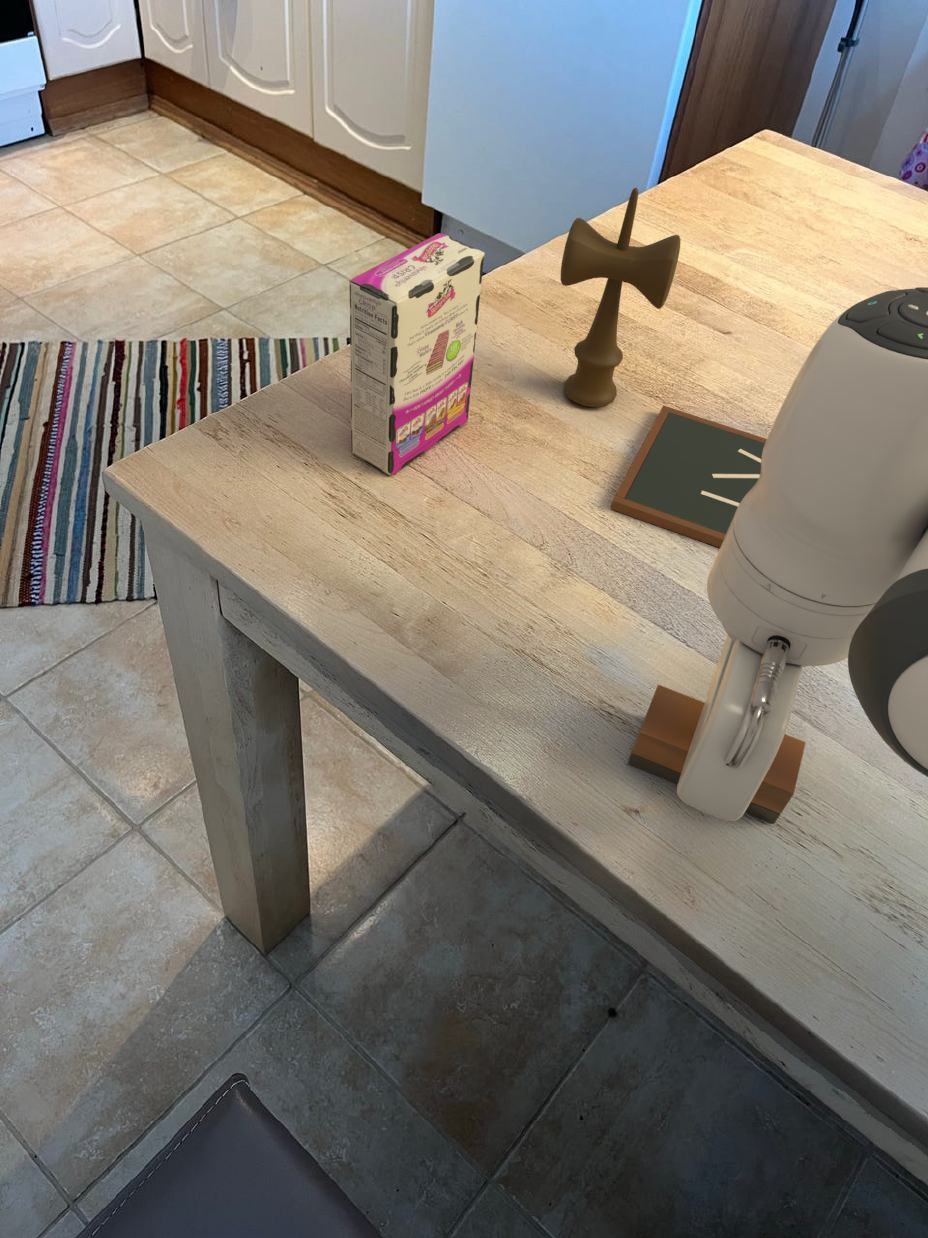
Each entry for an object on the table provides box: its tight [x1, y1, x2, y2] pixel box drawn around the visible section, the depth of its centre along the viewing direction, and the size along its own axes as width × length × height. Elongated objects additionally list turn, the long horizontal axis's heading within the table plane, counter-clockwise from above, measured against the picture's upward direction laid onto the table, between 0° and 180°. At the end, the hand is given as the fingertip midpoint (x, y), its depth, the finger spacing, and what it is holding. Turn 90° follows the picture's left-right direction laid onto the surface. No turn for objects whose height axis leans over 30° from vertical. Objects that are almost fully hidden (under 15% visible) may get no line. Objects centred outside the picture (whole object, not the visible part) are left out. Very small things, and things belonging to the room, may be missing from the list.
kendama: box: [560, 187, 682, 408], centre depth 84 cm, size 6×10×20 cm, turn 76°
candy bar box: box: [348, 232, 486, 477], centre depth 78 cm, size 11×5×16 cm, turn 143°
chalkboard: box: [610, 405, 767, 549], centre depth 83 cm, size 20×16×1 cm
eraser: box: [627, 684, 806, 824], centre depth 62 cm, size 4×10×4 cm, turn 66°
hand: (717, 733), depth 61 cm, fingers open, 8 cm apart
